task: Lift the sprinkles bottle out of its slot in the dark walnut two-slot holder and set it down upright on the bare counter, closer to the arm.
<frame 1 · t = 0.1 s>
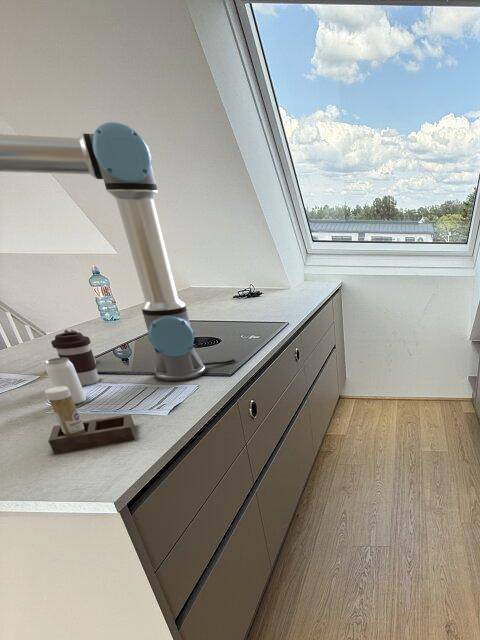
holder: (97, 439, 110), on the counter
coffee cup: (86, 382, 145), on the counter
can: (74, 402, 131), on the counter
figurine: (85, 364, 162), on the counter
sprinkles bottle: (79, 443, 109), resting in holder
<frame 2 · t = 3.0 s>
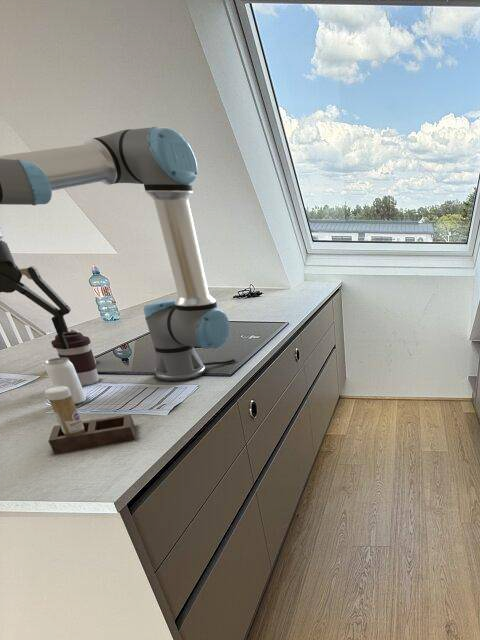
hand: (29, 351, 98), 21 cm above the counter, tool pointing down, fingers open, 13 cm apart
nothing on the counter moved.
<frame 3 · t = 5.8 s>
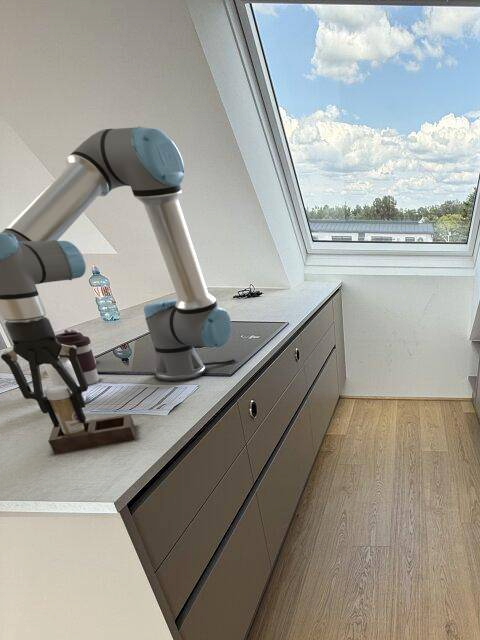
hand: (70, 422, 106), 5 cm above the counter, tool pointing down, fingers closed on sprinkles bottle, 5 cm apart
sprinkles bottle: (79, 443, 109), resting in holder, touching gripper
everything else where it was.
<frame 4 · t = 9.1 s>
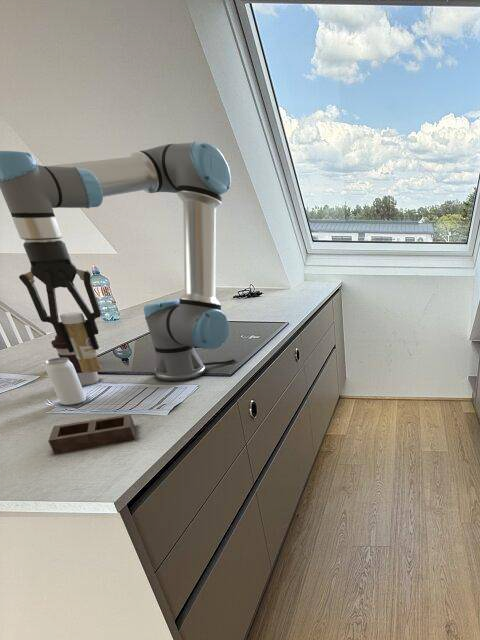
hand: (84, 349, 110), 19 cm above the counter, tool pointing down, fingers closed on sprinkles bottle, 5 cm apart
sprinkles bottle: (92, 371, 113), point 13 cm above the counter, touching gripper
everything else where it was.
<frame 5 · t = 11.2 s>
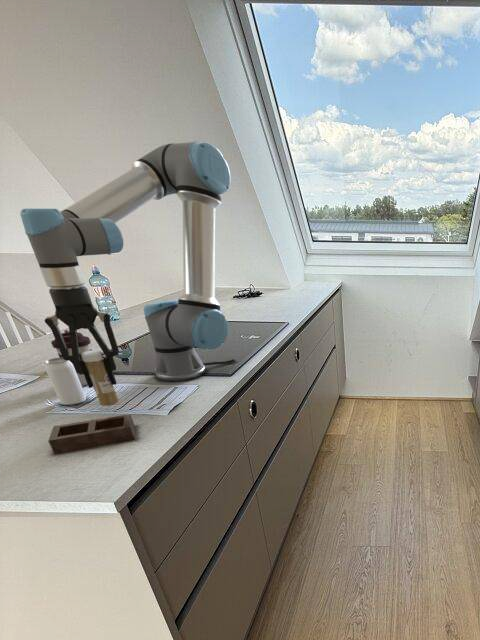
hand: (102, 384, 117), 9 cm above the counter, tool pointing down, fingers closed on sprinkles bottle, 5 cm apart
sprinkles bottle: (109, 404, 120), point 4 cm above the counter, touching gripper
everything else where it was.
when the fingers open (5 cm above the counter, at t = 12.5 s): sprinkles bottle stays where it is, on the counter.
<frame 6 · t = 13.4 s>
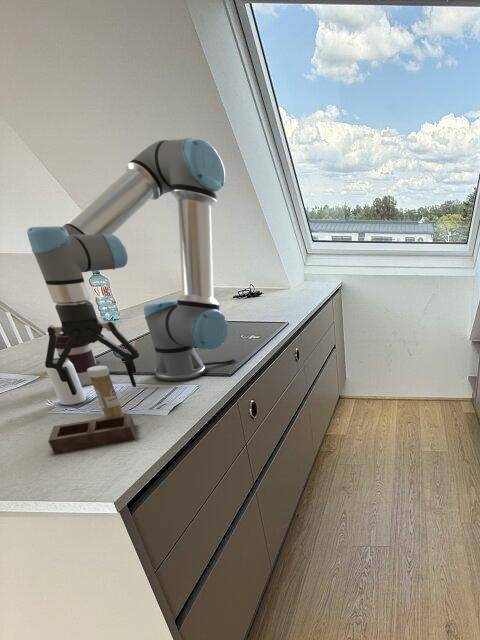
hand: (105, 389, 118), 8 cm above the counter, tool pointing down, fingers open, 13 cm apart
sprinkles bottle: (115, 417, 122), on the counter
everything else where it was.
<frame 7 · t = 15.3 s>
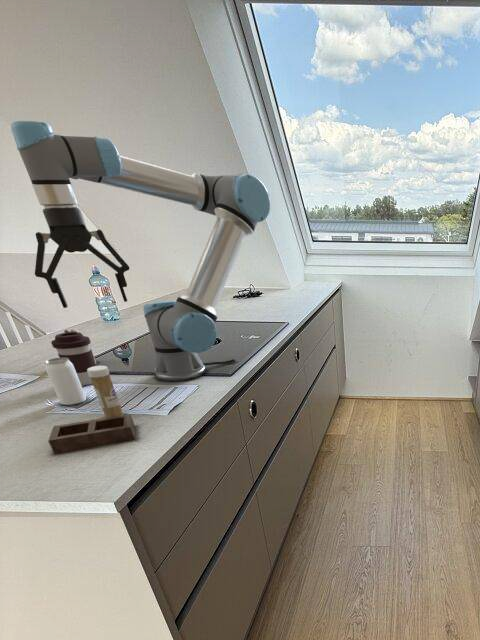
hand: (96, 303, 117), 27 cm above the counter, tool pointing down, fingers open, 13 cm apart
nothing on the counter moved.
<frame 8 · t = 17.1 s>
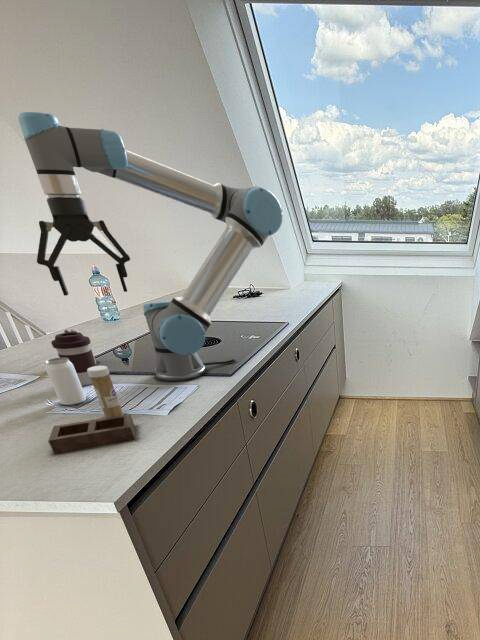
hand: (96, 293, 119), 29 cm above the counter, tool pointing down, fingers open, 13 cm apart
nothing on the counter moved.
at the end: sprinkles bottle inside the target area (0.1 cm from its centre), on the counter; sprinkles bottle tilted 0°; the gripper is holding nothing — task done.
